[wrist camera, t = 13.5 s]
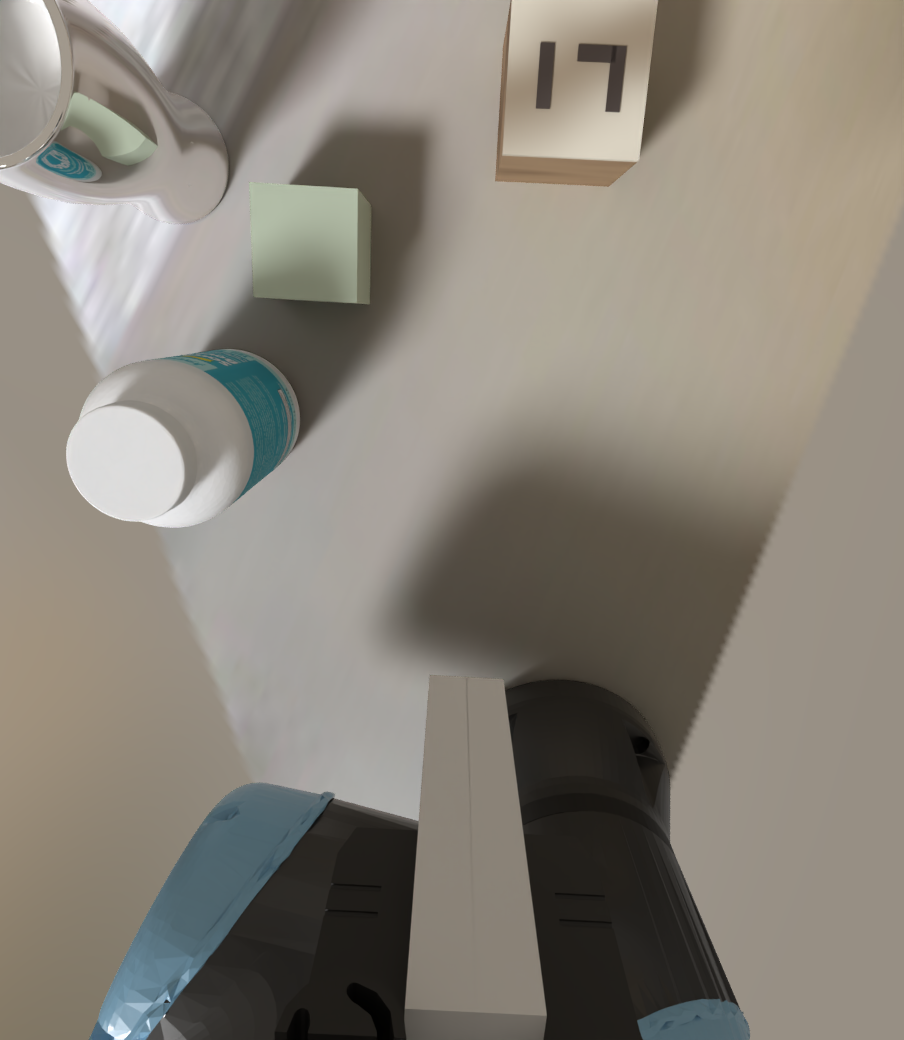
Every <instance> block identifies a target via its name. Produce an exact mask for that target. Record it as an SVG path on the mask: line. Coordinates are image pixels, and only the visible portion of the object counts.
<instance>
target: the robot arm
mask: <svg viewBox="0 0 904 1040" xmlns="http://www.w3.org/2000/svg"><path fill="white" fill-rule="evenodd" d="M334 796H335V794H334V793H331V792H324V793H322V794H321V795H320V794H315V793H311V792H306V791H301V790H297V789H292V788H287V787H282V786H278V785H273V784H268V783H250V784H246V785H243V786H241V787H239V788H237V789H235V790H233V791H231V792H230V793H229V794H228V795H226V796H225V797H224V798H223V799H222V800H221V801H220V802H219V803H218V804H217V805H216V806H215V807H214V808H213V809H212V811H211V812H210V813H209V814H208V816H207V817H206V818H205V820H204V821H203V822H202V824H201V825H200V827H199V828H198V830H197V831H196V833H195V834H194V836H193V837H192V839H191V840H190V842H189V844H188V845H187V847H186V848H185V850H184V852H183V853H182V855H181V856H180V858H179V860H178V861H177V863H176V864H175V866H174V868H173V869H172V871H171V873H170V875H169V876H168V878H167V880H166V882H165V883H164V885H163V887H162V889H161V891H160V892H159V894H158V896H157V897H156V899H155V901H154V903H153V905H152V906H151V908H150V910H149V912H148V914H147V916H146V917H145V919H144V921H143V923H142V925H141V927H140V929H139V931H138V933H137V934H136V937H135V938H134V940H133V942H132V944H131V946H130V948H129V950H128V952H127V954H126V956H125V958H124V960H123V962H122V964H121V966H120V968H119V970H118V972H117V974H116V976H115V978H114V980H113V982H112V984H111V986H110V989H109V991H108V993H107V996H106V998H105V1000H104V1002H103V1005H102V1007H101V1011H100V1014H99V1018H98V1021H97V1023H96V1025H95V1027H94V1030H93V1032H92V1034H91V1036H90V1038H89V1040H750V1030H749V1026H748V1023H747V1021H746V1019H745V1017H744V1016H743V1012H741V1010H740V1008H739V1006H738V1003H737V1001H736V998H735V996H734V994H733V991H732V989H731V987H730V984H729V982H728V980H727V977H726V975H725V973H724V970H723V968H722V965H721V963H720V961H719V958H718V956H717V953H716V951H715V949H714V946H713V944H712V942H711V939H710V937H709V935H708V932H707V930H706V928H705V925H704V923H703V920H702V918H701V916H700V913H699V911H698V909H697V906H696V904H695V902H694V899H693V897H692V894H691V892H690V890H689V887H688V885H687V883H686V880H685V878H684V875H683V873H682V871H681V868H680V866H679V864H678V862H677V859H676V857H675V854H674V852H673V849H672V847H671V844H670V779H669V773H668V768H667V764H666V761H665V758H664V755H663V753H662V750H661V748H660V746H659V744H658V742H657V740H656V737H655V735H654V733H653V731H652V730H651V728H650V726H649V725H648V723H647V722H646V720H645V719H644V718H643V716H642V715H641V714H640V713H639V712H638V711H637V710H636V709H635V708H634V707H633V706H632V705H630V704H629V703H628V702H626V701H625V700H623V699H622V698H620V697H619V696H617V695H615V694H613V693H612V692H609V691H607V690H605V689H602V688H600V687H597V686H594V685H590V684H586V683H582V682H575V681H566V680H550V681H539V682H534V683H529V684H525V685H521V686H518V687H515V688H512V689H510V690H507V691H505V688H504V680H503V679H492V678H474V677H456V676H438V675H430V678H429V691H428V705H427V718H426V731H425V745H424V758H423V772H422V785H421V798H420V812H419V821H416V820H412V819H408V818H405V817H401V816H397V815H394V814H390V813H386V812H382V811H379V810H375V809H371V808H368V807H364V806H360V805H356V804H353V803H349V802H345V801H342V800H338V799H334Z"/></svg>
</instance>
